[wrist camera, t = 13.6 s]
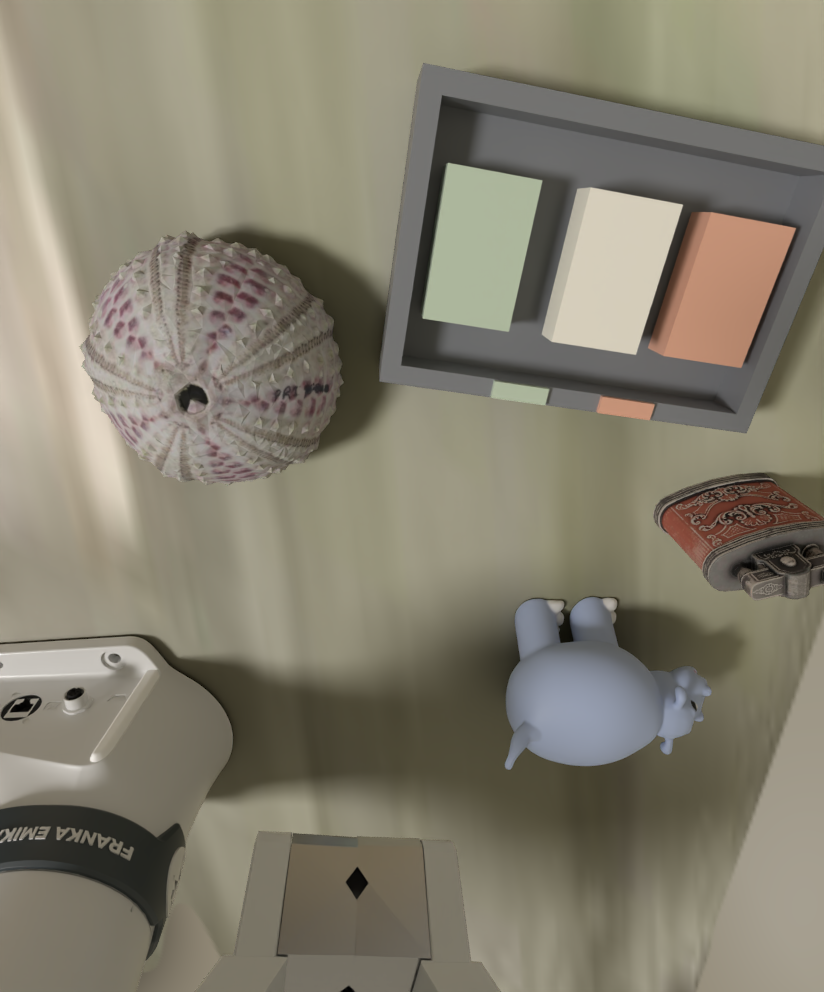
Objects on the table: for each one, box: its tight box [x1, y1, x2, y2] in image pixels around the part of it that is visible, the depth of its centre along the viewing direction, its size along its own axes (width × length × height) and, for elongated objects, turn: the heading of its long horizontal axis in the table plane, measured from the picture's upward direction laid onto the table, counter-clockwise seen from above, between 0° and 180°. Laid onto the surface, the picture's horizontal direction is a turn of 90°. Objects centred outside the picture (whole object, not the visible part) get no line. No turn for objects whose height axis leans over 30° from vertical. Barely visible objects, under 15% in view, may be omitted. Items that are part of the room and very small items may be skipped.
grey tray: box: [379, 63, 824, 433], centre depth 31 cm, size 21×14×4 cm, turn 81°
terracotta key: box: [648, 212, 796, 368], centre depth 32 cm, size 4×7×2 cm, turn 171°
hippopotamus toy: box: [505, 597, 712, 770], centre depth 41 cm, size 11×15×10 cm
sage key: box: [420, 163, 542, 332], centre depth 30 cm, size 4×7×2 cm, turn 171°
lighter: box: [653, 473, 824, 600], centre depth 36 cm, size 8×3×10 cm, turn 105°
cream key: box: [542, 187, 683, 355], centre depth 30 cm, size 4×7×2 cm, turn 171°
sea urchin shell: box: [80, 231, 344, 486], centre depth 31 cm, size 13×14×8 cm
